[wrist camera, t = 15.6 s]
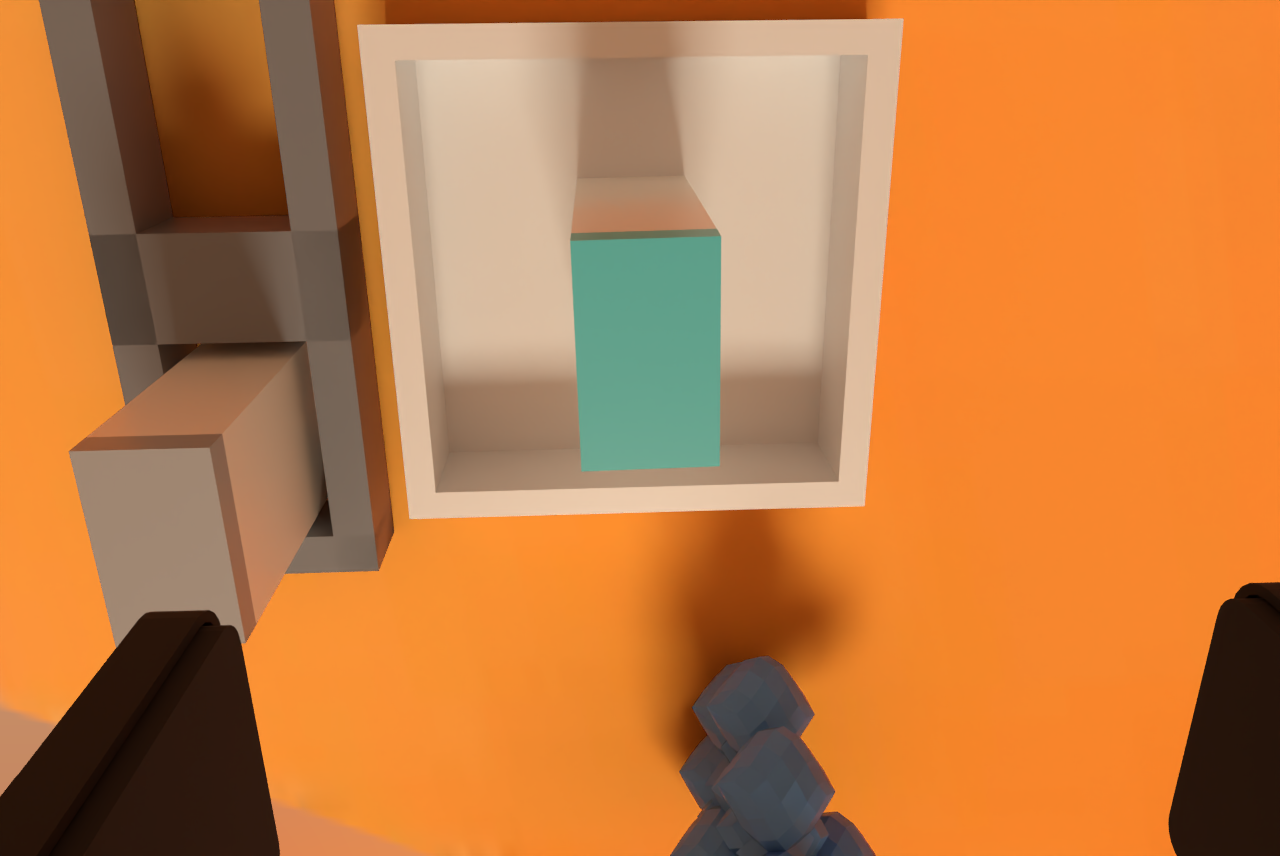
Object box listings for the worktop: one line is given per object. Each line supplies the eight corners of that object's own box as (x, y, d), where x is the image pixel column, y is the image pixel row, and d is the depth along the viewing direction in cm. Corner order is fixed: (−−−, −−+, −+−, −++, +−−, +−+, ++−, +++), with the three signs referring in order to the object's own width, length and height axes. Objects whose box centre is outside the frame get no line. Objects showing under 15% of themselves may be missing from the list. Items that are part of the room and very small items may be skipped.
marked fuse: (576, 178, 28) (570, 240, 20) (684, 175, 28) (721, 236, 20) (584, 350, 30) (581, 471, 22) (685, 346, 30) (719, 466, 22)
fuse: (212, 335, 30) (68, 451, 22) (314, 333, 30) (209, 447, 22) (238, 487, 32) (116, 647, 24) (334, 485, 32) (245, 643, 24)
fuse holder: (74, -64, 26) (23, -73, 24) (326, -66, 26) (300, -76, 24) (193, 537, 32) (161, 577, 30) (394, 532, 33) (378, 570, 30)
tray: (385, 24, 27) (357, 24, 24) (866, 19, 27) (903, 18, 24) (428, 468, 32) (409, 519, 29) (837, 457, 32) (864, 506, 29)
